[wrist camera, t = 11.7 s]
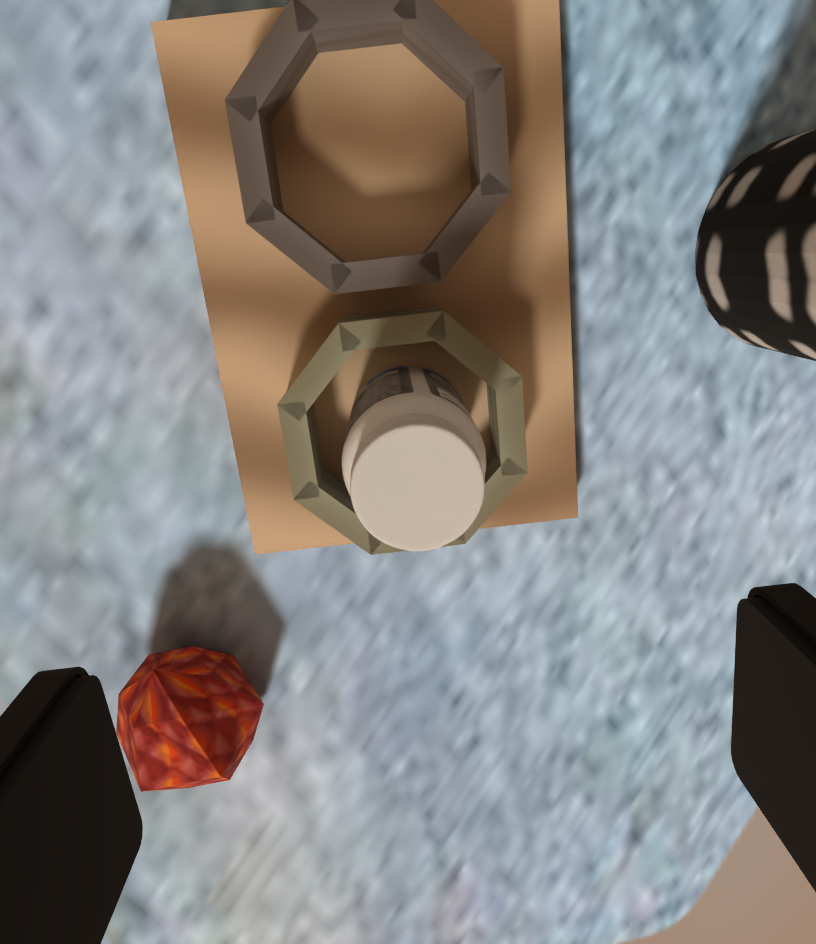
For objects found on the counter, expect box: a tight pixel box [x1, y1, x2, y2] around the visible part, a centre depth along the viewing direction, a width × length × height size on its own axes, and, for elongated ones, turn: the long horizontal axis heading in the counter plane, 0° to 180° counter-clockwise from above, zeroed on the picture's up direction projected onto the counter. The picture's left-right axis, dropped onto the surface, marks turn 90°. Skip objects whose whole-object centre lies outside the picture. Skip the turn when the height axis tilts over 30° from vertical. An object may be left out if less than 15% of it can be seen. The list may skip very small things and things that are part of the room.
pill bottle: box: [342, 366, 486, 551], centre depth 24 cm, size 5×5×8 cm
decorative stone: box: [117, 646, 264, 791], centre depth 30 cm, size 6×7×8 cm
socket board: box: [151, 0, 578, 555], centre depth 26 cm, size 20×14×4 cm
